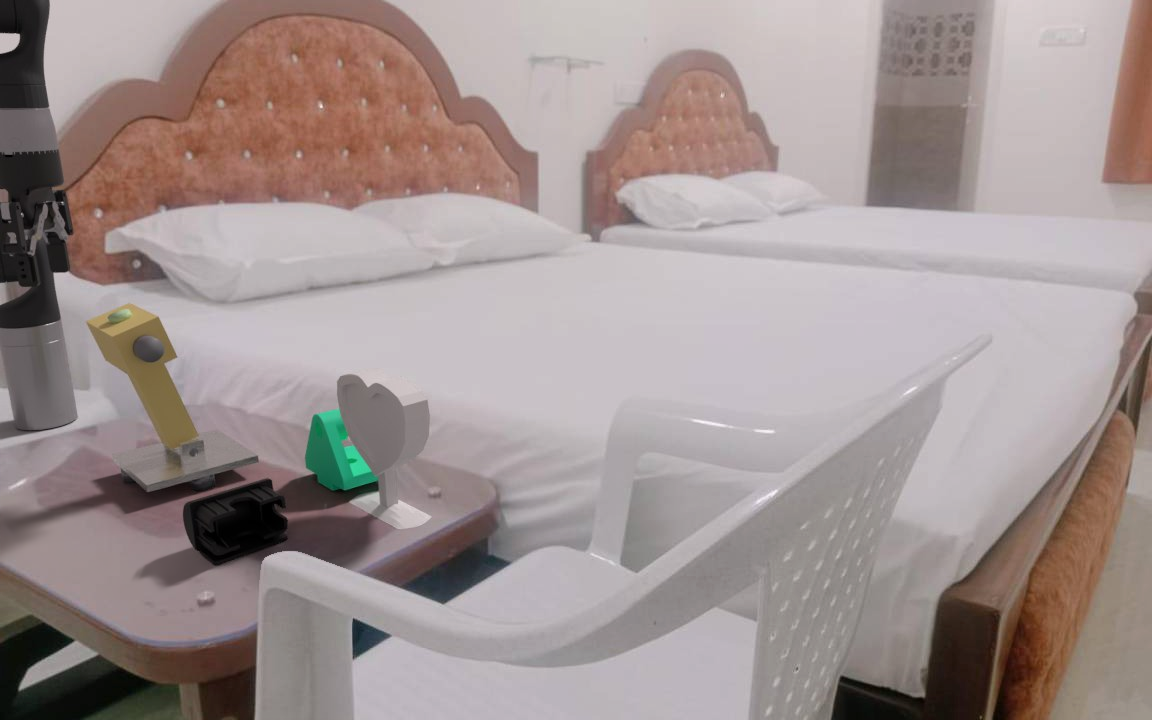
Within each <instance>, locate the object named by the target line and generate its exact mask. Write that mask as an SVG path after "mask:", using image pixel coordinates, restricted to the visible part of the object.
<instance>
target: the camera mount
mask: <svg viewBox="0 0 1152 720" xmlns="http://www.w3.org/2000/svg"><path fill="white" fill-rule="evenodd" d="M348 438H349V436H348V434H347V431H346V428H345V426H344V423H343V420H342V418H341V415H340V410H339V408H336V409H332V410H328V411H324V412H319V413H315V414H314V415H313V416H312V419H311V424H310V429H309V434H308V440H307V445H306V450H305V455H304V461H305V462H304V463H305V469H307V470H309V471H311V472H312V473H314V474H316V476H317V482H318V484H319V483H320V484H321V485H323V486H324V487H325V488H327V489H329V490H330V491H337V490H343V491H348V490H350V489H353V488H357V487H361V486H363V485H367V484H370V483H374V482H378V476H376V477H375V476H374V474H373V473H372V471H371V470H370V468H369V467H368V465H367V464H366V462H365V461H364V460H363V458H362V457H361V455H360V454H359V453H358V451H357V449H356V448H355V446H354V445H348V446H344V445H343V441H346V440H348Z"/></svg>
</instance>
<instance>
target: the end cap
mask: <svg viewBox="0 0 1152 720" xmlns="http://www.w3.org/2000/svg"><path fill="white" fill-rule="evenodd" d="M286 505H287V502H286V498H285V497H284V495H282V494H280V493H278V492H277V491H276V490H275V489H274V485H273V479H272V478H268V477H267V478H262V479H259V480H256V481H253V482H252V481H251V482H249V483H246V484H242V485H239V486H236V487H233V488H229V489H226V490H223V491H220V492H219V491H218V492H216V493H213V494H208V495H206V496H203V497H198V498H196V499H193V500H190V501H187V502H186V503H185V504H184V506H183V510H182V519H183V526H184V530H185V533H186V535H187V538H188V540H189V543H190V544H191V546H192V547H193V549H194V550H195V551H196V552H199V554H200V555H201V556H202V557H203V558H204V559H205V560H207V561H208V562H209V563H210V564H211V565H212V566H216V567H217V566H222V565H224V564H227V563H230V562H233V561H235V560H238V559H241V558H244V557H247V556H249V555H252V554H256V553H258V552H261V551H263V550H266V549H269V548H272V547H274V546H277V545H278V546H279V545H281V544H282V543H286V542H287V541H288V534H287V533H286V532H287V531H288V528H289V526H288V525H289V524H288V522H289V520H288V518H287V517H286V516H285V515H283V514H282V513H280V512H278V510H277V508H276V506H277V507H279V508H281V509H282V510H283V509H286V508H287V507H286Z"/></svg>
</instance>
